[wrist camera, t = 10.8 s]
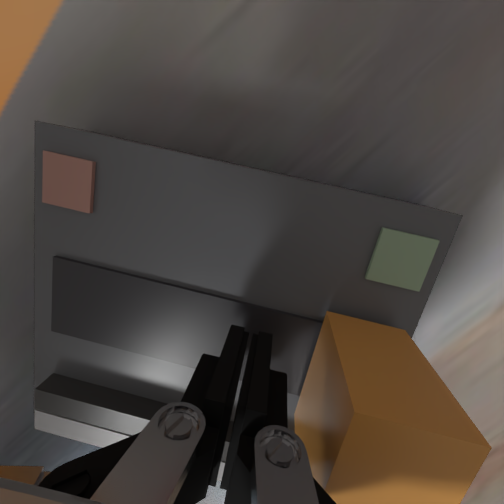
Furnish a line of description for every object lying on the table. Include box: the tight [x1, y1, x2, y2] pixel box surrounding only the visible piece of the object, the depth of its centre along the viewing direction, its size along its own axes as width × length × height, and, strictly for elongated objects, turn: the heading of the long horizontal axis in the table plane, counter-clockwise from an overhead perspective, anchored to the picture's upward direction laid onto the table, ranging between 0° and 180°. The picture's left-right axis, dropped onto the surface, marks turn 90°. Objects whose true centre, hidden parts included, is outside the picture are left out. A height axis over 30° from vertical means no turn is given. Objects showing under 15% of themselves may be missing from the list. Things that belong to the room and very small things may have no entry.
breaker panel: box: [34, 121, 462, 481], centre depth 14 cm, size 14×16×4 cm
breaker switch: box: [294, 311, 491, 504], centre depth 10 cm, size 5×3×5 cm, turn 168°
